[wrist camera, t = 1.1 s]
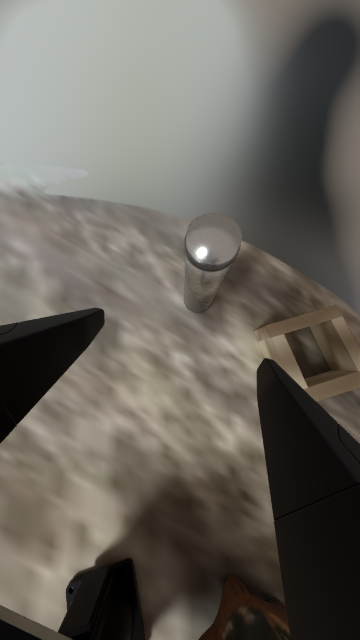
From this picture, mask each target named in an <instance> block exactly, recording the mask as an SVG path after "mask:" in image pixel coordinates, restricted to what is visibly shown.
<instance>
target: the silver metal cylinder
mask: <svg viewBox="0 0 360 640" xmlns="http://www.w3.org/2000/svg"><path fill="white" fill-rule="evenodd" d="M241 241H242V234H241V230H240V228H239V226H238V225H237V224H236V223H235V222H234V221H233V220H232V219H230V218H229V217H227V216H225V215H222V214H217V213H208V214H204V215H201V216H199V217H197V218H196V219H194V220H193V221H192V222H191V223H190V225H189V226H188V229H187V233H186V236H185V254H186V256H185V282H184V304H185V306H186V307H187V309H189V310H190V311H192V312H194V313H202V312H204V311H206V310H207V309H208V308H209V307H210V305H211V303H212V301H213V299H214V297H215V295H216V293H217V291H218V289H219V287H220V285H221V283H222V281H223V279H224V277H225V275H226V273H227V271H228V269H229V267H230V265H231V264H232V263H233V261H234V260H235V258H236V256H237V254H238V252H239V249H240V245H241Z"/></svg>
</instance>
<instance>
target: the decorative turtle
mask: <svg viewBox="0 0 360 640" xmlns="http://www.w3.org/2000/svg"><path fill="white" fill-rule="evenodd" d="M199 640H291V637H290V632H289V626H288V618H287V611H286V607H285V605H284V604H283V603H282V602H281V601H280V600H278V599H276V598H272V599H270V600H269V601H268V602H267V601H264V600H262V599H260V598H259V597H257V596H256V595H254V594H253V593H251V592H250V591H249V589H248V588H247V587H246V586H245V585H244V583H243V582H242V581H241V580H240V579H239V577H237V576H236V575H234V574H230V575H228V576H227V578H226V581H225V584H224V587H223V593H222V599H221V603H220V607H219V611H218V614H217V617H216V619H215V621H214V623H213V624H212V626H211V627H210V628H209V629H208V630H207V631H206V632H205V633H204V634H203V635H202V636H201V637H200V638H199Z"/></svg>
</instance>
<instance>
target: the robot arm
mask: <svg viewBox="0 0 360 640" xmlns="http://www.w3.org/2000/svg"><path fill="white" fill-rule="evenodd" d="M104 322H105V320H104V310H103V309H99V308H91V309H86V310H81V311H75V312H70V313H65V314H60V315H54V316H49V317H44V318H39V319H33V320H28V321H23V322H20V323H12V324H7V325H1V326H0V443H1V442H2V441H3V440H4V439H5V438H6V437H7V436H8V435H9V434H10V432H11V431H12V430H13V429H14V428H15V427H16V426H17V424H18V423H19V422H20V421H21V420H22V419H23V418H24V417H25V416H26V415H27V414H28V412H29V411H30V410H31V409H32V408H33V407H34V406H35V405H36V404H37V403H38V401H39V400H40V399H41V398H42V397H43V396H44V395H45V394H46V393H47V391H48V390H49V389H50V388H51V387H52V386H53V385H54V384H55V383H56V382H57V380H58V379H59V378H60V377H61V376H62V375H63V374H64V373H65V372H66V371H67V369H68V368H69V367H70V366H71V365H72V364H73V363H74V362H75V361H76V360H77V358H78V357H79V356H80V355H81V354H82V353H83V352H84V351H85V350H86V348H87V347H88V346H89V345H90V344H91V342H92V341H93V340H94V338H95V337H96V335H97V334H98V333H99V331H100V330H101V328H102V327H103V326H104ZM257 401H258V409H259V416H260V423H261V430H262V438H263V445H264V452H265V459H266V466H267V474H268V481H269V488H270V495H271V502H272V510H273V517H274V520H275V521H274V525H275V532H276V539H277V547H278V554H279V561H280V568H281V575H282V583H283V590H284V597H285V604H286V611H287V618H288V626H289V632H290V637H291V640H360V444H359V443H358V442H357V441H356V440H355V439H354V438H353V437H352V436H351V435H350V434H349V433H348V432H347V431H346V430H345V429H344V428H343V427H342V426H341V425H340V424H337V421H336V420H334V419H333V418H332V417H331V416H330V415H329V414H328V413H327V412H326V411H325V410H324V409H323V408H322V407H321V406H320V405H319V404H318V403H317V402H316V401H315V400H314V399H313V398H312V397H311V396H310V395H309V394H308V393H307V392H306V391H305V390H304V389H303V388H302V387H301V386H300V385H299V384H298V383H297V382H296V381H295V380H294V379H293V378H292V377H291V376H290V375H289V374H288V373H287V372H286V371H285V370H283V369H282V368H281V367H280V366H279V365H278V364H277V363H276V362H275V361H274V360H272V359H269V358H264V359H263V361H262V362H261V364H260V366H259V367H258V369H257ZM127 567H129V569H128V568H127ZM71 587H73V589H72V588H71ZM66 601H67V613H66V615H65V617H64V620H63V622H62V624H61V626H60V628H59V630H58V632H56V631H54V630H51V629H49V628H47V627H45V626H43V625H41V624H39V623H37V622H35V621H33V620H31V619H28V618H26V617H24V616H22V615H20V614H18V613H16V612H14V611H12V610H10V609H7V608H5V607H3V606H1V605H0V640H146V638H145V632H144V626H143V620H142V613H141V607H140V601H139V595H138V589H137V582H136V576H135V570H134V564H133V561H132V560H131V559H126V560H123V561H120V562H118V563H115V564H112V565H109V566H106V567H103V568H100V569H98V570H95V571H92V572H89V573H87V574H85V575H82V576H79V577H76V578H74V579H72V580H71V581H70V582H69V584H68V586H67V589H66Z"/></svg>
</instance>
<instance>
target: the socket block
mask: <svg viewBox="0 0 360 640" xmlns="http://www.w3.org/2000/svg"><path fill="white" fill-rule="evenodd" d="M306 327H310V329H311V331H312V333H313V335H314V337H315V339H316V341H317V343H318V345H319V347H320V349H321V351H322V353H323V355H324V357H325V359H326V361H327V363H328V365H329V367H330V369H331V370H330V371H327V372H324V373H321V374H318V375H314V376H311V377H308V378H305V379H304V378H303V375H302V373H301V371H300V369H299V366H298V364H297V362H296V360H295V358H294V355H293V353H292V351H291V349H290V346H289V344H288V342H287V340H286V338H285V335H284V334H285V333H289V332H292V331H295V330H299V329H302V328H306ZM254 332H255V335H256V337H257V340H258V342H259V345H260V347H261V350H262V352H263V354H264V357H265V358H269V359H272V360H274V361H275V362H276V363H277V364H278V365H279V366H280V367H281V368H282V369H283V370H285V371H286V372H287V373H288V374H289V375H290V376H291V377H292V378H293V379H294V380H295V381H296V382H297V383H298V384H299V385H300V386H301V387H302V388H303V389H304V390H305V391H306V392H307V393H308V394H309V395H310V396H311V397H312V398H313V399H314V400H315V401H316V402H318V401H321V400H324V399H327V398H330V397H333V396H336V395H339V394H342V393H345V392H348V391H351V390H354V389H357V388H360V347H359V345H358V343H357V341H356V339H355V338H354V336H353V334H352V332H351V330H350V329H349V327H348V325H347V323H346V322H345V320H344V318H343V316H342V314H341V313H340V311H339V309H338V307H337V305H334V306H331V307H327V308H324V309H321V310H317V311H314V312H310V313H307V314H303V315H300V316H296V317H293V318H290V319H286V320H283V321H279V322H276V323H272V324H269V325H266V326H264V327H262V328H259V329H257V330H255V331H254Z"/></svg>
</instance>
